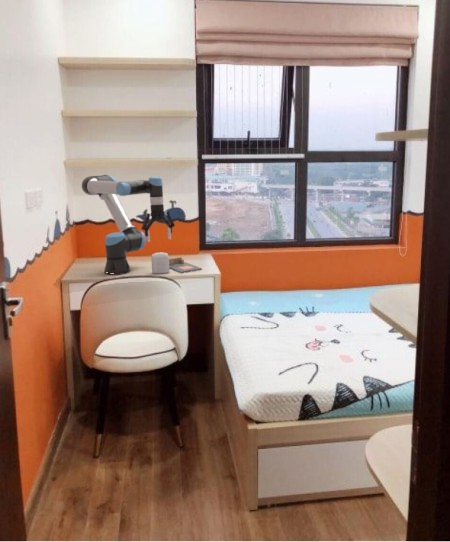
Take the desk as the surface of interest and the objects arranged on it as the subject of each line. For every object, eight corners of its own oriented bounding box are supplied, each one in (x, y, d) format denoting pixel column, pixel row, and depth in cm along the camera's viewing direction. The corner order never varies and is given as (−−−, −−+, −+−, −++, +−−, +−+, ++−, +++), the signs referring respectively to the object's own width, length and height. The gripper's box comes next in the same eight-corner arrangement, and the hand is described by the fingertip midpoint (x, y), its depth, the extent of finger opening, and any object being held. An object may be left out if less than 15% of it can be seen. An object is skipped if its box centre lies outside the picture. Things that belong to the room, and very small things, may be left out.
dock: (181, 273, 309) (180, 265, 308) (165, 266, 327) (164, 259, 326) (201, 269, 316) (201, 262, 315) (184, 263, 334) (184, 256, 333)
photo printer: (169, 271, 314) (168, 251, 311) (169, 273, 310) (168, 252, 307) (152, 272, 313) (150, 252, 310) (152, 274, 309) (150, 253, 306)
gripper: (139, 206, 292) (142, 243, 297) (179, 202, 305) (181, 238, 310) (134, 205, 299) (136, 241, 304) (173, 201, 311) (175, 236, 316)
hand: (159, 240), depth 307 cm, fingers open, 13 cm apart
